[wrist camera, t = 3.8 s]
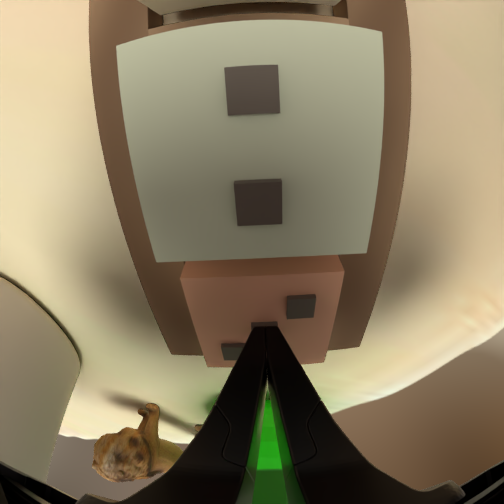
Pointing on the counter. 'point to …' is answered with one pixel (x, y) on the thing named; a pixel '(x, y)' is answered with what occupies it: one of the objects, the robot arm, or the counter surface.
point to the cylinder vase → (32, 382)
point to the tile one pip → (212, 4)
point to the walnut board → (124, 186)
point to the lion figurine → (135, 450)
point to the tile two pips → (255, 137)
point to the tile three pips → (263, 303)
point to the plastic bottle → (269, 465)
